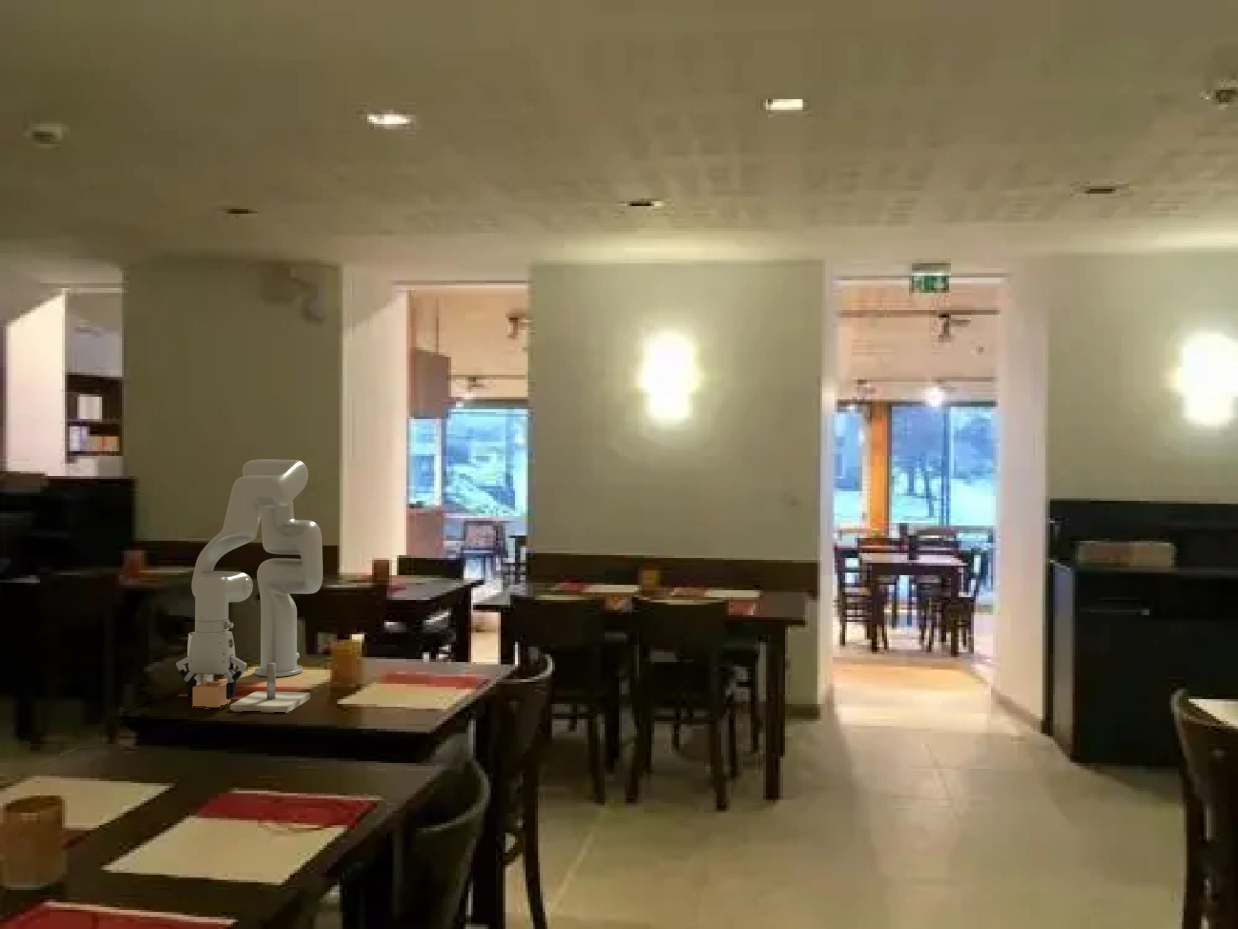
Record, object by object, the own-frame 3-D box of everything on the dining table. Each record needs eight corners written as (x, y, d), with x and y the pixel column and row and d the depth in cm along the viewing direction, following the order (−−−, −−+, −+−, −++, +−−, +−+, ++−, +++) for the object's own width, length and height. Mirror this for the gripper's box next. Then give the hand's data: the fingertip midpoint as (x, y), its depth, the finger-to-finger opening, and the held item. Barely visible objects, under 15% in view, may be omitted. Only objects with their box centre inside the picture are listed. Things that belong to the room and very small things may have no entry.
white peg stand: (255, 697, 263) (255, 657, 263) (310, 698, 262) (310, 658, 261) (230, 711, 249) (230, 669, 249) (287, 713, 248) (287, 670, 247)
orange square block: (205, 701, 258) (205, 681, 258) (230, 702, 257) (230, 682, 257) (192, 708, 252) (192, 687, 252) (218, 708, 251) (218, 688, 251)
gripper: (253, 625, 257) (252, 695, 257) (185, 623, 259) (184, 693, 259) (239, 630, 250) (238, 702, 250) (169, 628, 251) (169, 700, 251)
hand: (211, 697), depth 254 cm, fingers open, 9 cm apart
